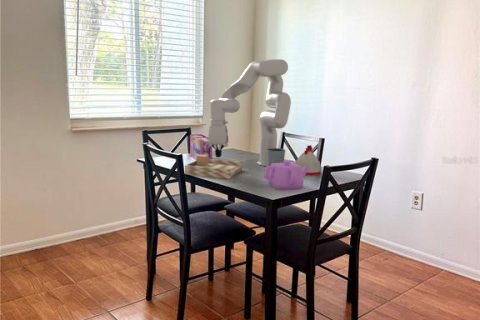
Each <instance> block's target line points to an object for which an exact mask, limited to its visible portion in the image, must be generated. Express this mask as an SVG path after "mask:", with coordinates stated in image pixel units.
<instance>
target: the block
mask: <svg viewBox="0 0 480 320" xmlns="http://www.w3.org/2000/svg"><path fill="white" fill-rule="evenodd" d="M208 163H209V155H201V154H200V155H198V156H197V164H196V165H201V166H206V165H208Z"/></svg>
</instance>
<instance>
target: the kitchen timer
mask: <svg viewBox="0 0 480 320" xmlns="http://www.w3.org/2000/svg"><path fill="white" fill-rule="evenodd" d="M313 148H314V147H312V145H306V148H305V150H304V152H302V153H301V154H300V155H299V157H298V158H297V159H295V162H294V163H295V164H298V165H300V166H301V167H302V169H303V168H304V167H305V166H307V167H309V169H308V171H307V172H306V174H305V176H309V177H310V176H318V175H319V176H320V174H321V161H320V160H319V159H318V158H317V156H316V155H315V154H314V152H312V151H313Z"/></svg>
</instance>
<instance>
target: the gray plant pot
mask: <svg viewBox="0 0 480 320" xmlns="http://www.w3.org/2000/svg"><path fill="white" fill-rule="evenodd" d="M285 155H286V149H285V148H280V147H279V148H278V147H276V148H269V149H267V166H271V164H272V163H284V162H283V161H284V160H285Z"/></svg>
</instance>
